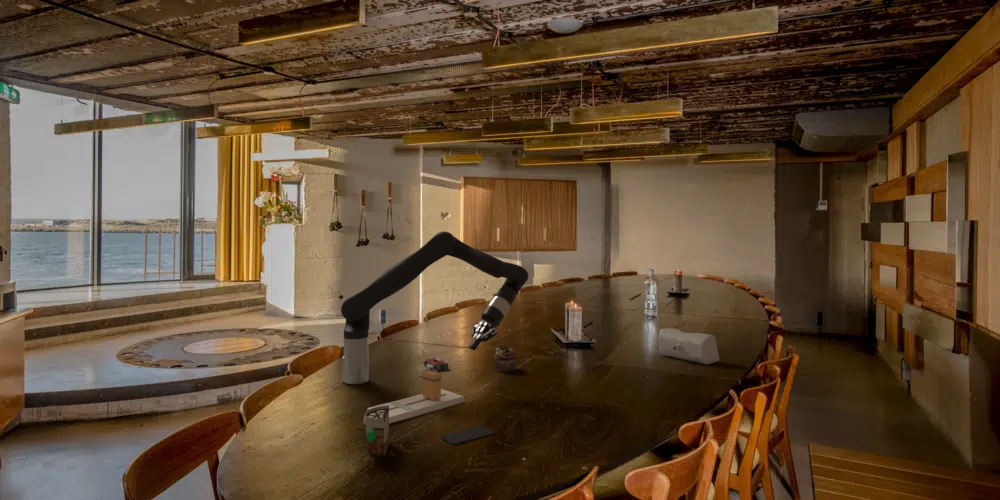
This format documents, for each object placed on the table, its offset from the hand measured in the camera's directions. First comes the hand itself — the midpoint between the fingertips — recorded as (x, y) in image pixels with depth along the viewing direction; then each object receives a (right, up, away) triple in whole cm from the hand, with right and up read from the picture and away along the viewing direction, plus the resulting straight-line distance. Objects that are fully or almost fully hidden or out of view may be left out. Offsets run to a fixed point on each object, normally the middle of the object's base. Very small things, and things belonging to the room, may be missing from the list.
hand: (471, 348), depth 198 cm
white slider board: (-17, -17, -16) cm, 29 cm away
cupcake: (+12, -15, +33) cm, 38 cm away
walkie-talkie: (-16, -15, +33) cm, 40 cm away
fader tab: (-13, -14, -12) cm, 23 cm away
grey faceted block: (+94, -14, +51) cm, 108 cm away
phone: (+1, -18, -40) cm, 44 cm away
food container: (-23, -18, -50) cm, 58 cm away
